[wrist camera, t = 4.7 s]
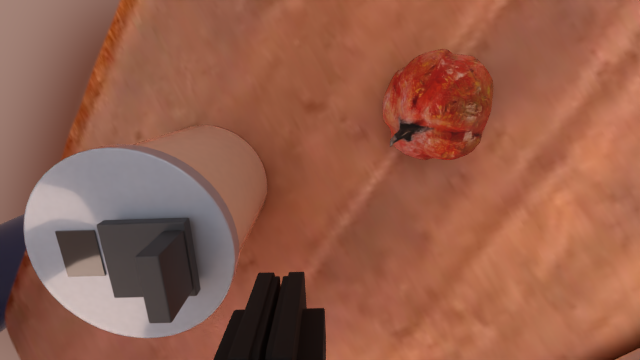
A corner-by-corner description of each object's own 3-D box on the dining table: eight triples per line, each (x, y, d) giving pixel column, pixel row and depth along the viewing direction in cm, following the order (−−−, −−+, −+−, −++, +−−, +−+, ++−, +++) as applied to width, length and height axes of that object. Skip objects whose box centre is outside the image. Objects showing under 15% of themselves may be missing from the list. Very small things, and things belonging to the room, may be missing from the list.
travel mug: (158, 242, 30) (53, 341, 19) (135, 122, 27) (-9, 152, 16) (276, 238, 30) (244, 338, 18) (266, 117, 27) (220, 143, 15)
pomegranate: (430, 43, 27) (340, 72, 22) (528, 27, 21) (436, 61, 16) (438, 130, 30) (359, 173, 25) (526, 137, 24) (447, 194, 19)
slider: (121, 291, 17) (79, 333, 14) (103, 219, 16) (54, 249, 13) (201, 289, 17) (175, 331, 14) (189, 216, 16) (159, 246, 13)
